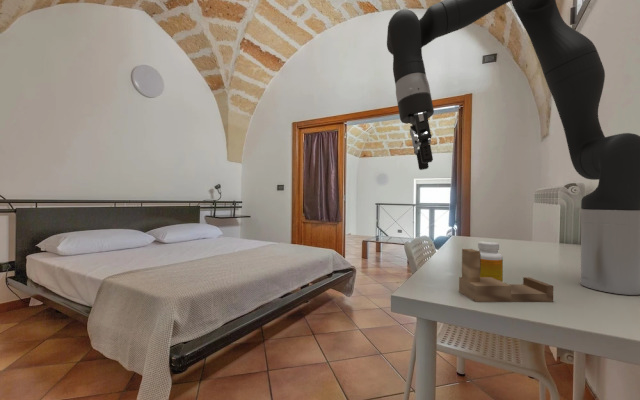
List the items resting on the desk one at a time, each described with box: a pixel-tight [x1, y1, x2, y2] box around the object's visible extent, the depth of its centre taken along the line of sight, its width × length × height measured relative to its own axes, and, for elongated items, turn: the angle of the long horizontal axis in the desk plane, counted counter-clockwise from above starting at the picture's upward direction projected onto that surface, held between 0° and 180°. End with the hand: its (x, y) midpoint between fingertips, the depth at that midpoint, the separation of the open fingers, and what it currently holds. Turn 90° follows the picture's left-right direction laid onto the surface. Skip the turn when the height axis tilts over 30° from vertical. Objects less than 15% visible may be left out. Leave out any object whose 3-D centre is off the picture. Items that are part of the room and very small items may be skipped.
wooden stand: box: [458, 248, 554, 303], centre depth 55 cm, size 15×6×9 cm, turn 91°
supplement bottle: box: [477, 241, 504, 282], centre depth 61 cm, size 5×5×10 cm
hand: (425, 166), depth 63 cm, fingers open, 8 cm apart
